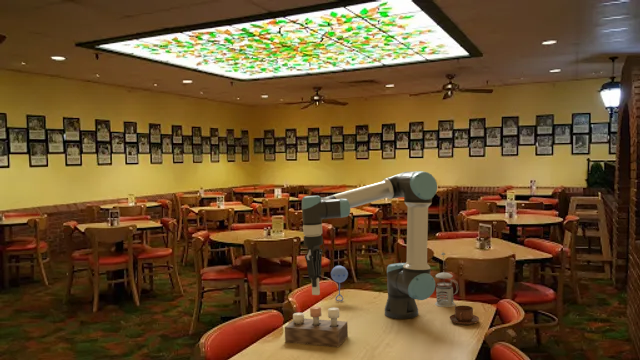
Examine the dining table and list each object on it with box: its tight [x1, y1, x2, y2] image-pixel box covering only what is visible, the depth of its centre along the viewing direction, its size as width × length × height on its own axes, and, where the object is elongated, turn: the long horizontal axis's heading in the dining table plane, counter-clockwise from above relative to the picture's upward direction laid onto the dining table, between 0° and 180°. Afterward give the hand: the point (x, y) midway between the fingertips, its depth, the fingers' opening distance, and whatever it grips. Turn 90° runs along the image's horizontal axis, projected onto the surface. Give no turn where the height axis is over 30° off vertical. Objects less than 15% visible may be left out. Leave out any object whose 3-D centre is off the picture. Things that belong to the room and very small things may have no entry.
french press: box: [434, 252, 459, 308], centre depth 234 cm, size 10×12×25 cm
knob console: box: [284, 317, 349, 348], centre depth 194 cm, size 22×12×6 cm, turn 70°
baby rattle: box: [330, 265, 349, 302], centre depth 248 cm, size 9×9×18 cm
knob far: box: [292, 312, 305, 324], centre depth 196 cm, size 4×4×7 cm
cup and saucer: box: [449, 305, 480, 325], centre depth 208 cm, size 12×12×6 cm
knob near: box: [327, 307, 340, 327], centre depth 191 cm, size 4×4×7 cm
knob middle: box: [309, 305, 322, 326], centre depth 194 cm, size 4×4×7 cm
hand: (316, 294), depth 194 cm, fingers closed
